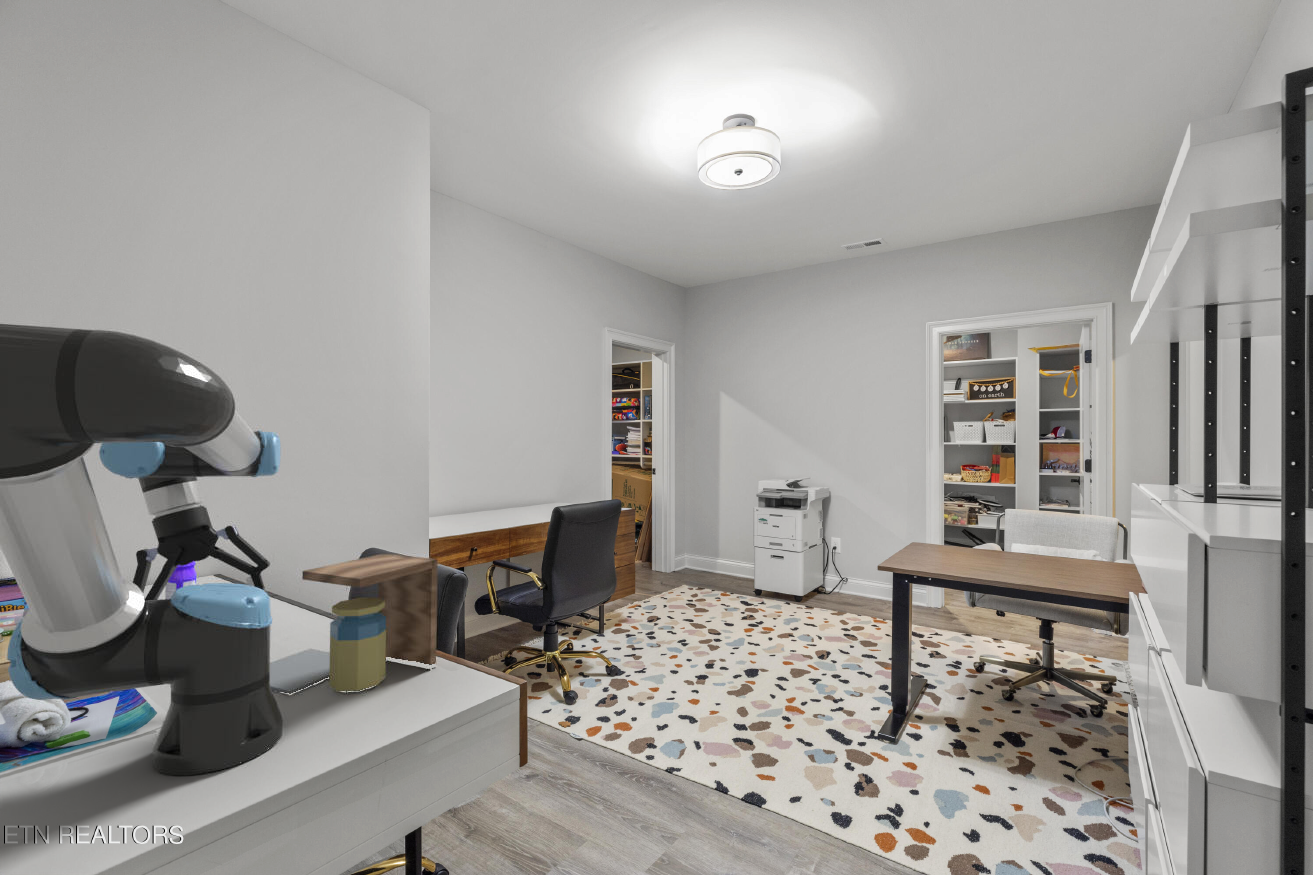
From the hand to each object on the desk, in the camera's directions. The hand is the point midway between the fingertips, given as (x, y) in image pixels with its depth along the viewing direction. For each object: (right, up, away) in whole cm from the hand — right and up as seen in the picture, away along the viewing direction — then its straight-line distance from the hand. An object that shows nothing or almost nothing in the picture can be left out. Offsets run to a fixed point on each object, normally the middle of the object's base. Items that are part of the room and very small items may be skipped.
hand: (215, 627), depth 102 cm
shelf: (+23, -12, +9) cm, 28 cm away
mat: (+8, -12, +11) cm, 18 cm away
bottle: (-43, -12, +45) cm, 64 cm away
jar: (+22, -13, +6) cm, 26 cm away
